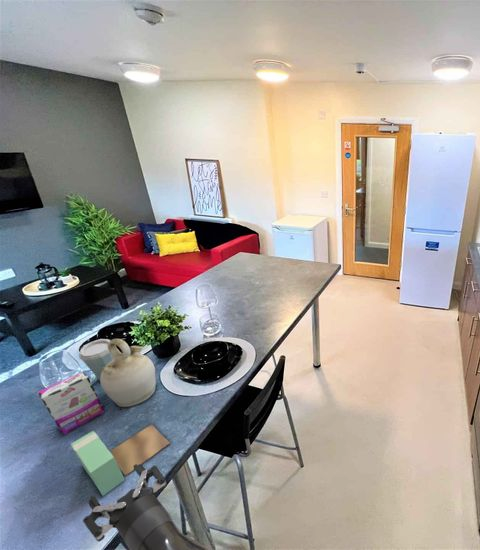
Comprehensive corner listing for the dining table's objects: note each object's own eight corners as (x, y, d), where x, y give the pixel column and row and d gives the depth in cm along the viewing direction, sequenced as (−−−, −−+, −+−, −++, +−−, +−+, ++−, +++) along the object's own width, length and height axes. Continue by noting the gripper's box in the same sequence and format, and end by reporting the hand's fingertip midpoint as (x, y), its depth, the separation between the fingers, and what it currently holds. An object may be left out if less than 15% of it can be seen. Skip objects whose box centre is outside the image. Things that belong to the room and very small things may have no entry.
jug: (147, 373, 118) (129, 322, 108) (168, 389, 112) (151, 336, 101) (101, 398, 106) (76, 343, 96) (122, 418, 99) (97, 361, 89)
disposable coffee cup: (129, 375, 117) (117, 345, 111) (94, 390, 109) (79, 359, 103) (121, 363, 123) (109, 334, 117) (88, 377, 115) (73, 346, 109)
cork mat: (125, 476, 82) (125, 475, 82) (108, 453, 88) (107, 452, 88) (170, 443, 92) (169, 442, 92) (151, 424, 97) (151, 424, 97)
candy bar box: (100, 405, 104) (83, 370, 97) (105, 412, 101) (89, 376, 94) (57, 428, 95) (36, 391, 88) (62, 436, 93) (40, 398, 86)
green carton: (102, 496, 78) (89, 473, 74) (83, 466, 84) (70, 443, 80) (125, 479, 82) (114, 456, 77) (104, 452, 88) (93, 430, 84)
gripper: (176, 485, 67) (143, 448, 74) (99, 551, 56) (70, 499, 63) (184, 504, 70) (151, 466, 78) (112, 570, 59) (82, 519, 66)
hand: (115, 481), depth 70 cm, fingers open, 8 cm apart
